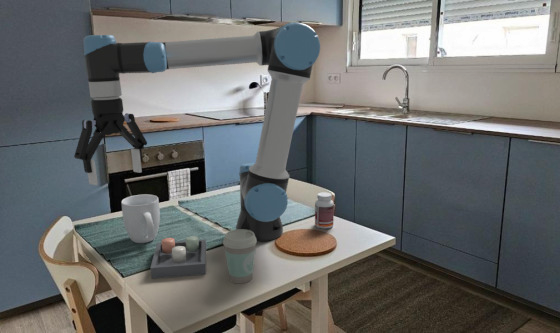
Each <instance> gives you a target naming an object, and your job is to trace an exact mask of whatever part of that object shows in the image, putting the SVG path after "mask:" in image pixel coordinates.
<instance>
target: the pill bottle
mask: <svg viewBox="0 0 560 333" xmlns="http://www.w3.org/2000/svg"><path fill="white" fill-rule="evenodd" d="M332 197H333V196H332V193H331V192H325V191H322V192H319V193H317V195H316V198H317V199H316V200H315V203H314V225H315V227H316V228H319V229H326V230H327V229H330V228H333V226H334V218H335V217H334V212H335V211H334V210H335V209H334V207H335V206H334V205H335V204H334V201H333V200H332Z"/></svg>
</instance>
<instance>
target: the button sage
mask: <svg viewBox="0 0 560 333" xmlns="http://www.w3.org/2000/svg"><path fill="white" fill-rule="evenodd" d="M199 240H200V239H199V237H198V236H195V235H191V236H187V237H185V240H184V241H186V251H188V252H195V251H198V250H199Z"/></svg>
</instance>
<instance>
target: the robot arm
mask: <svg viewBox="0 0 560 333" xmlns="http://www.w3.org/2000/svg"><path fill="white" fill-rule="evenodd" d="M82 40H83V50H84V52H83V57H84V59H85V60H84V61H85V66H86V72H87V81H88V87H89V88H88V89H89V95H90V98H92V99H91V101H90V104H91V105H90V106H91V111H92V114H93V120H92V119H91V120H89V119H83V120H82V121H81V125H82V126H81V133H80V136H79V139H78V143H77V145H76V149H75V152H74V159H77V160H82V163H83V170H84V172H85V173H87V177H88V183H89V185H92V186H98V185H99V182H98V175H97V174H98V173H97V167H96V162H95V159H92V158H93V157H94V155H95V154H96V151H97V149H98V147H99V145H100V144H101V142H102V140H103V139H104V138H105V137H106V136H110V135H113V134H120V136H121V137H123V138H124V139H125V141H127V143H129V145H130V146H132V148H130V151H131V152H130V153H131V161H132V170H133V172H134V173H142V172H143V170H142V163H141V160H143V153H142V151H143V149H144V147H145V146H147V144H148V142H147V140H146V138H145V136H144V134H143V133H142V130H140V129H141V128H140V127H139V126H138V124H137V122H136V118H135V114H133V113H125V114H123V112H124V104H123V98H121V96H122V95H123V94H122V86H121V79H120V74H157V73H162V72H165V71H166V70H172V69H173V70H175V69H189V68H190V69H191V68H200V67H201V68H203V67H213V66H215V67H216V66H225V65H226V66H227V65H228V66H229V65H239V64H252V63H254V64H255V63H256V64H258V65H259V66H267V73H268V75H269V76H270V78H271V80H270V85H269V90H268V91H269V92H268V95H267V101H266V106H265V111H264V118H263V121H262V128H261V132H260V133H261V134H260V137H259V138H260V139H259V143H258V148H257V153H256V159H255V162H247V163H246V162H245V163H242V164H241V165H240V166H239V172H238V175H239V193H240V195H239V196H240V199H239V200H240V212H239V215H238V219H237V221H236V225H235V230H236V229H246V230H250V231H252V232H254V234H255V237H256V240H257V242H266V241H272V240H275V239H278V238H279V237H281V236H282V235H283V234H284V230H283V229H284V225H283V222H282V218H281V216H282V215H284V213H285V212H286V210H287V208H288V200H289V197H288V194H287V189H288V184H289V180H290V173H288V170H286V167H287V162H288V159H289V158H288V157H289V153H290V148H291V143H292V138H293V134H294V129H295V126H296V125H295V124H296V120H297V113H298V109H299V106H300V105H299V104H300V100H301V97H302V96H301V95H302V90H303V86H304V84H305V83H307V82H308V81H309V80H311V75H312V70H313V65H314V64H315V63H316V61H317V60H318V58H319V55H320V52H321V41H320V39H319V35H318V34H317V32H316V31H315V30H314V29H313V28H312V27H311V26H309V25H308V24H306V23H301V22H295V21H294V22H293V21H292V22H290V23H289V22H288V23H286V24H283V25H282V26H279V27H276V28H273V29H269V30H262V31H260V30H259V31H256V33H255V34H254V35H244V36H232V37H231V36H227V37H218V38H216V37H215V38H205V39H204V38H203V39H202V38H201V39H191V40H189V39H188V40H177V41H175V40H174V41H164V42H163V41H145V42H143V41H142V42H141V41H140V42H117V40H116V38H115V36H114V35H113V34H102V35H101V34H91V35H86V36H85V37H84V38H83V39H82ZM124 123H126V125H127V127H128V128H126V127H125V125H124ZM94 127H95V129H94ZM93 129H94V131H93ZM128 129H129V130H130V131H129V130H128ZM92 133H93V135H92ZM131 133H132V134H131ZM91 136H92V137H91ZM280 235H281V236H280Z"/></svg>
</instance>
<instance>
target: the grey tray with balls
mask: <svg viewBox="0 0 560 333" xmlns="http://www.w3.org/2000/svg"><path fill="white" fill-rule="evenodd" d="M198 240H199V250H198V251H195V252H188V251H186V260H185V261H184V262H181V263H175V262H173V259H172V253H170V254H165V253H163V252H162V242H161V241H160V242H156V245H155V249H154V254H153V257H152V259H151V260H152V261H151V264H150V278H151V279H165V278H175V277H176V278H177V277H187V276H199V275H200V276H201V275H207V239H198ZM176 246H184V247H185V248H186V240H175V247H176Z"/></svg>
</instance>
